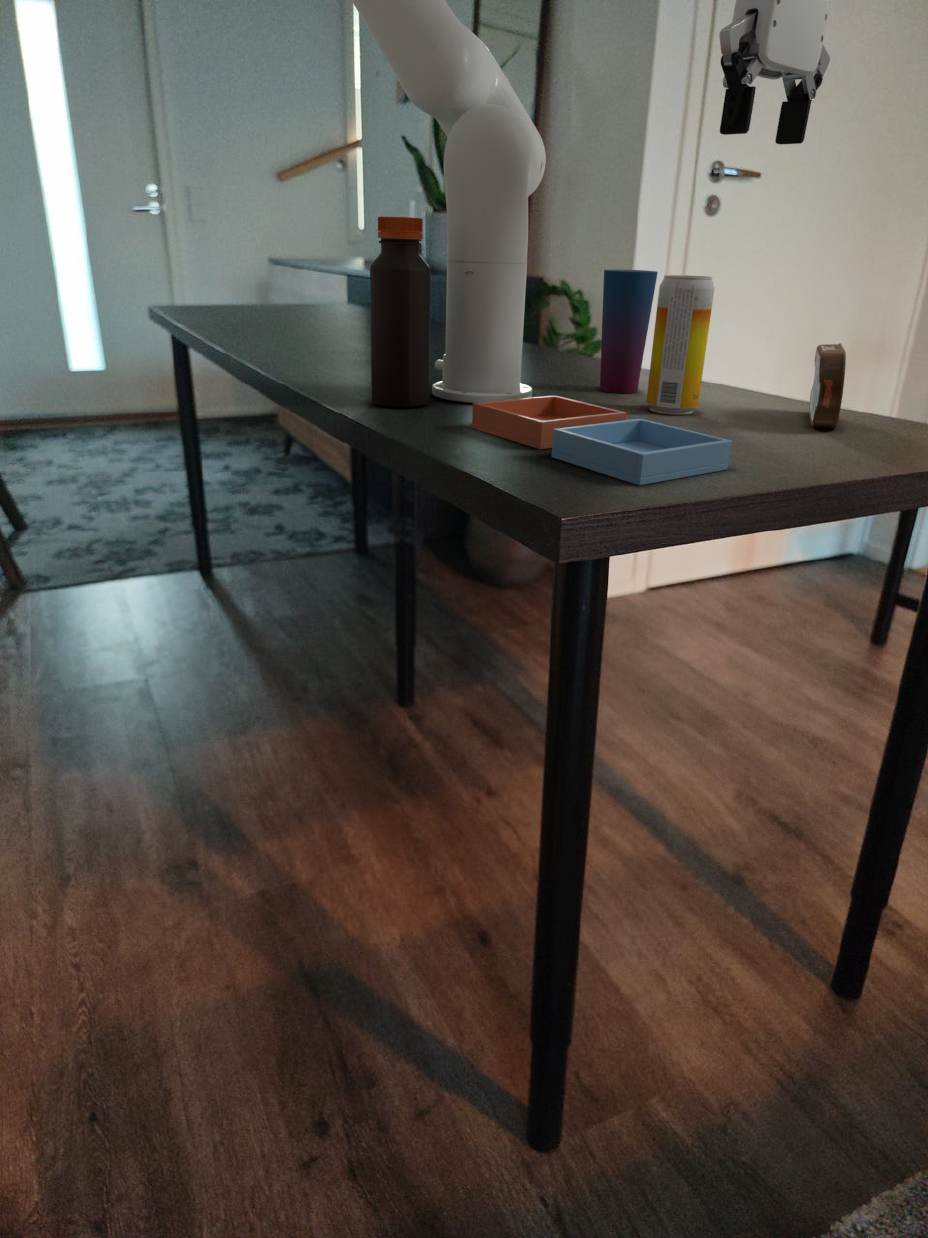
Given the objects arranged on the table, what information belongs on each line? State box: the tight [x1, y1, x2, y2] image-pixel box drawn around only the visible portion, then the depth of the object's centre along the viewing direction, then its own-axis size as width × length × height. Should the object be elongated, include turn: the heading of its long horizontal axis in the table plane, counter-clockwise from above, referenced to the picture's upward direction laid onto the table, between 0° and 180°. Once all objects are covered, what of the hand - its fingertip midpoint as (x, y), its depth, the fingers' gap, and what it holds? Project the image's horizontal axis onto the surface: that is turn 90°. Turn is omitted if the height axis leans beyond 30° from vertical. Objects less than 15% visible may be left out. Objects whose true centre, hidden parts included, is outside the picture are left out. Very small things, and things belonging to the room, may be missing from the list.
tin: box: [808, 342, 847, 430], centre depth 97 cm, size 15×3×8 cm, turn 161°
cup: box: [599, 268, 659, 394], centre depth 112 cm, size 7×7×15 cm
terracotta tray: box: [471, 394, 628, 451], centre depth 88 cm, size 11×11×3 cm
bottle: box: [369, 216, 432, 409], centre depth 97 cm, size 7×7×20 cm
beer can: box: [645, 274, 715, 416], centre depth 99 cm, size 6×6×15 cm
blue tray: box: [550, 418, 733, 486], centre depth 77 cm, size 11×11×3 cm
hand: (762, 138), depth 89 cm, fingers open, 9 cm apart
